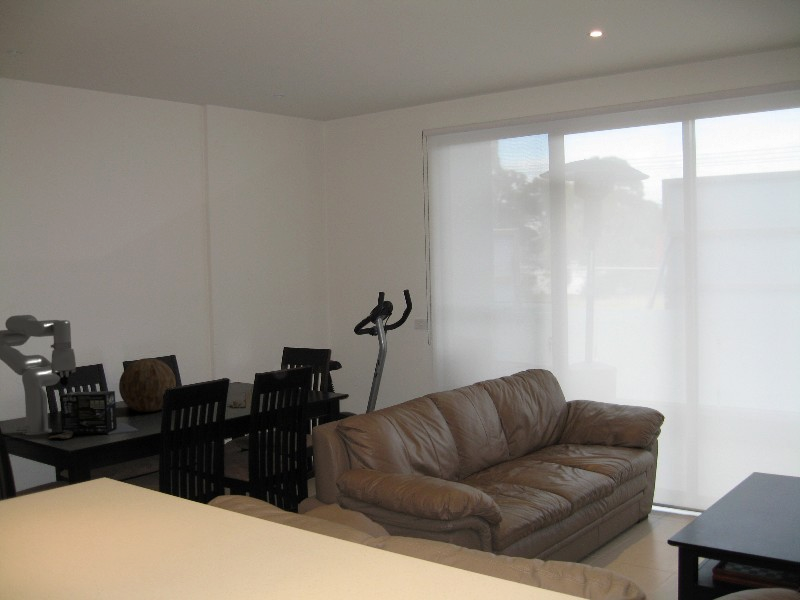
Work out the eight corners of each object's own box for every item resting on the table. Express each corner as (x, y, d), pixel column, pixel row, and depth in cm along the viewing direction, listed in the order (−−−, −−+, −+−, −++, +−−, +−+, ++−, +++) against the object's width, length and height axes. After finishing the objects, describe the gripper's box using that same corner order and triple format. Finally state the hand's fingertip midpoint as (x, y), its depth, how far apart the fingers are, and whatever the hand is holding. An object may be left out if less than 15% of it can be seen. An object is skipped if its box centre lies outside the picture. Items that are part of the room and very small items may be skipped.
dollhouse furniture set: (245, 405, 454) (245, 386, 453) (260, 407, 445) (259, 387, 444) (227, 408, 444) (226, 388, 444) (241, 410, 435) (240, 390, 435)
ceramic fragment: (63, 436, 359) (47, 432, 363) (62, 443, 359) (47, 438, 364) (81, 432, 369) (66, 428, 373) (81, 438, 369) (66, 434, 373)
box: (117, 428, 381) (115, 390, 380) (108, 433, 371) (105, 393, 370) (72, 430, 383) (69, 391, 382) (61, 434, 373) (58, 395, 372)
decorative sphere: (163, 417, 417) (161, 360, 417) (110, 417, 421) (108, 361, 420) (185, 407, 447) (183, 355, 447) (135, 408, 451) (133, 356, 450)
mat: (108, 434, 370) (108, 433, 370) (95, 427, 390) (95, 426, 390) (138, 431, 378) (138, 429, 378) (123, 424, 398) (123, 423, 398)
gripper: (47, 348, 362) (48, 387, 363) (81, 345, 371) (82, 384, 371) (43, 347, 368) (45, 386, 369) (77, 345, 377) (79, 383, 377)
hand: (64, 385), depth 370 cm, fingers closed
